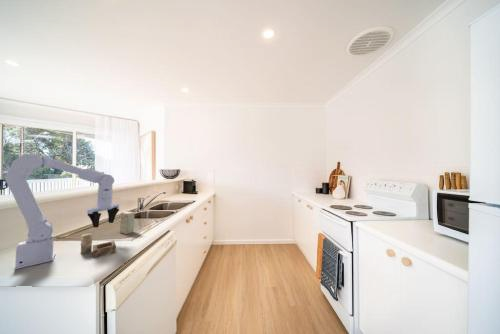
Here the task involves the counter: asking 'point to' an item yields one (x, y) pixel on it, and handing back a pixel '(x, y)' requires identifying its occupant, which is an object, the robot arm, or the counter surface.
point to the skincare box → (127, 222)
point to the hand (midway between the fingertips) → (103, 224)
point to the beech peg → (86, 243)
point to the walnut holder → (104, 249)
